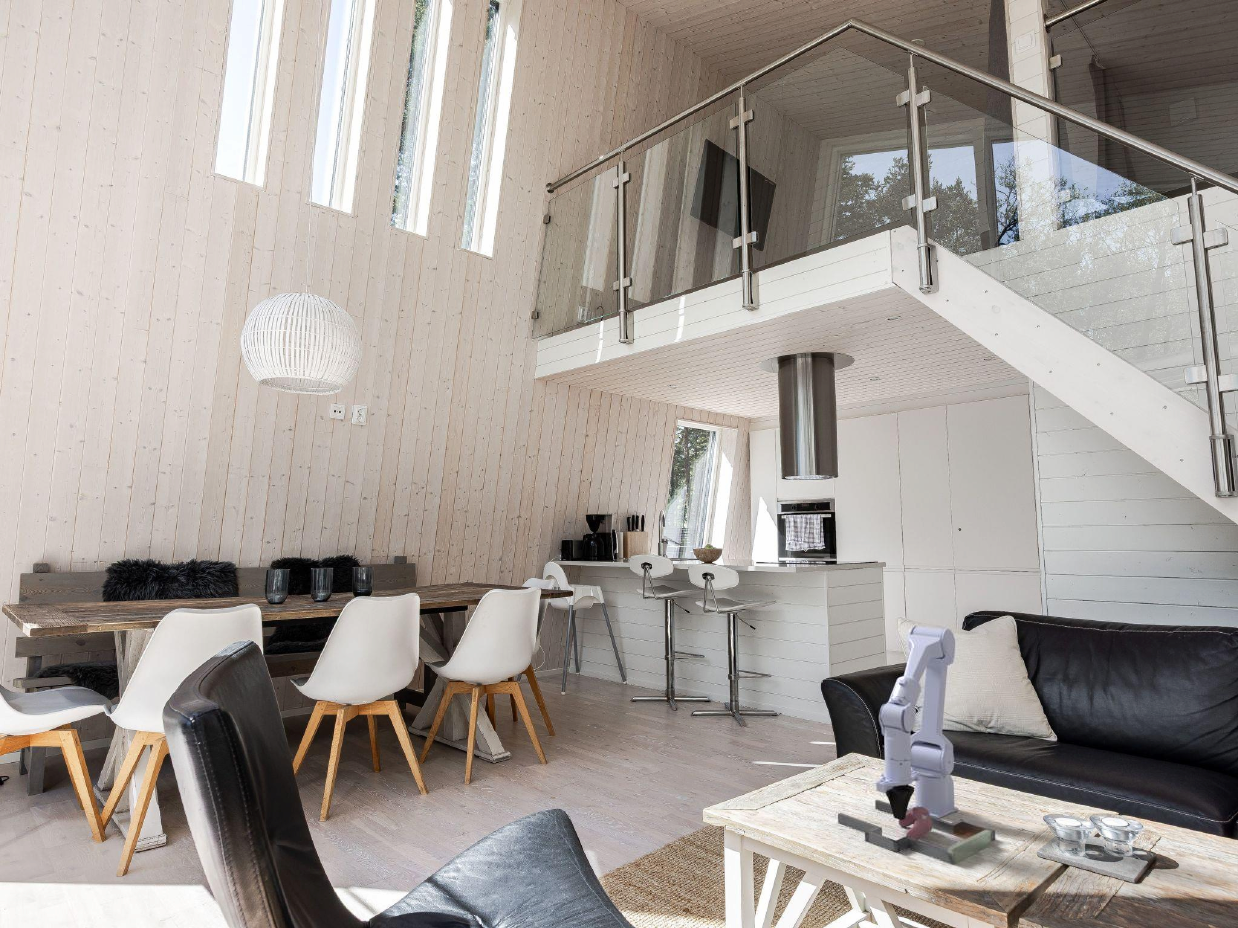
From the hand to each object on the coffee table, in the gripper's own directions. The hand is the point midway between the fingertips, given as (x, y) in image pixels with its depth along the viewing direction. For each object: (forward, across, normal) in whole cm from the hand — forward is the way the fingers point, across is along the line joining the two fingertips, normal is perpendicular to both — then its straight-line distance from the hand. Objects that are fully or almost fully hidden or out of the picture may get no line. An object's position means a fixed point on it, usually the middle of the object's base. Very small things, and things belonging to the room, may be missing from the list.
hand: (899, 818), depth 174 cm
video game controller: (+3, 0, +4) cm, 5 cm away
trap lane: (+2, 0, +3) cm, 4 cm away
